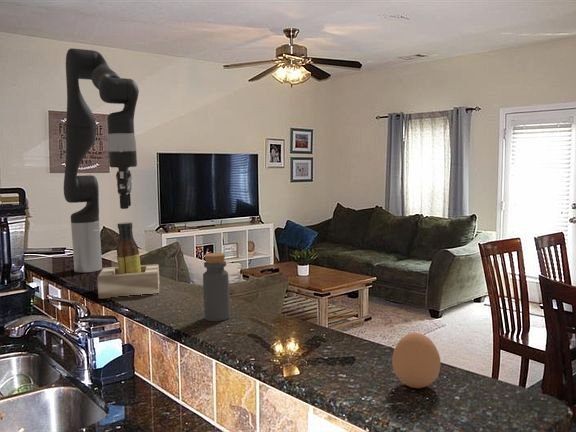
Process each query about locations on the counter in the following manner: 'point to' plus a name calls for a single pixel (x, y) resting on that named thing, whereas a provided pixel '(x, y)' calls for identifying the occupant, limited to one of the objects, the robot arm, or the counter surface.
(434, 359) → the egg
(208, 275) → the bottle
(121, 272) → the sauce bottle
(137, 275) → the dock block
